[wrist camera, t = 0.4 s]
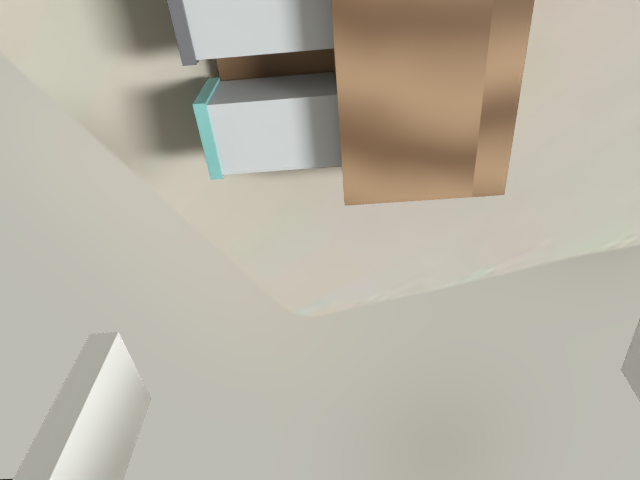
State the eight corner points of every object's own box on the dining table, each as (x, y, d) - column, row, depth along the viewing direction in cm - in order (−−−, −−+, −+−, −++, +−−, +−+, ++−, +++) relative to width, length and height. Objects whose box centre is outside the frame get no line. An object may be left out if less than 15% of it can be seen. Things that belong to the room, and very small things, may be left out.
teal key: (207, 78, 34) (192, 104, 30) (396, 62, 33) (405, 87, 29) (223, 148, 37) (210, 179, 33) (395, 135, 36) (403, 166, 32)
